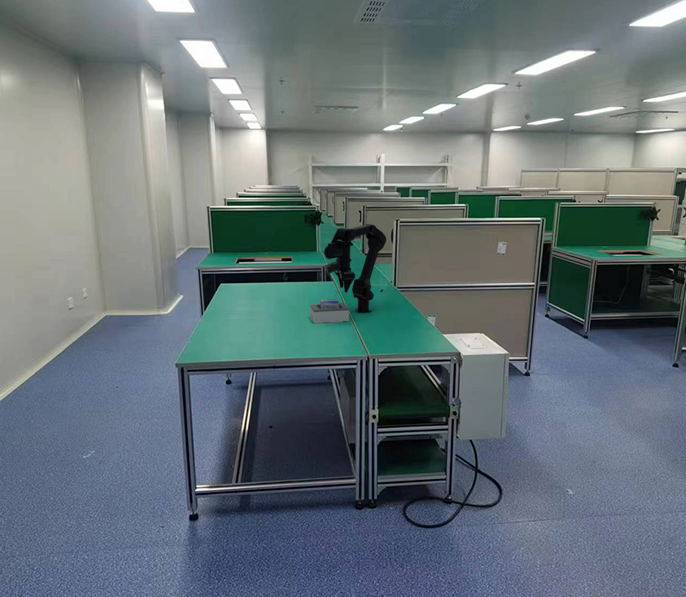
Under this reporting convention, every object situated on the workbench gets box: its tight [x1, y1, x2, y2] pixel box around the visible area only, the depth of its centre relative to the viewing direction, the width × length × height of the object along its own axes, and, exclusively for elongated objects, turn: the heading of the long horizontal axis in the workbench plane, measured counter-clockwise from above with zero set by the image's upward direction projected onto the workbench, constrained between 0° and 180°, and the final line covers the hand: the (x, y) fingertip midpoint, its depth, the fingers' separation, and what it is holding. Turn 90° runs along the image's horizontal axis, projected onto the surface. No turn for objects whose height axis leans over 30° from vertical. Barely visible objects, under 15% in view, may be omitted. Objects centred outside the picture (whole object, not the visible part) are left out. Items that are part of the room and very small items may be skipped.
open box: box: [309, 302, 350, 324], centre depth 219 cm, size 10×16×6 cm, turn 103°
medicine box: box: [319, 298, 340, 309], centre depth 218 cm, size 8×4×9 cm, turn 102°
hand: (343, 290), depth 220 cm, fingers open, 9 cm apart
